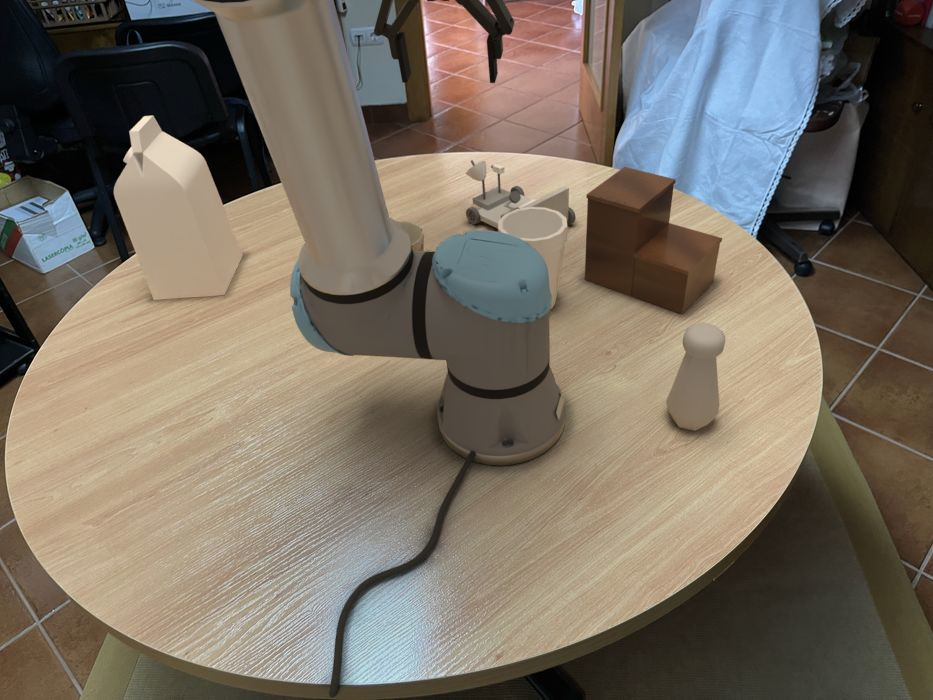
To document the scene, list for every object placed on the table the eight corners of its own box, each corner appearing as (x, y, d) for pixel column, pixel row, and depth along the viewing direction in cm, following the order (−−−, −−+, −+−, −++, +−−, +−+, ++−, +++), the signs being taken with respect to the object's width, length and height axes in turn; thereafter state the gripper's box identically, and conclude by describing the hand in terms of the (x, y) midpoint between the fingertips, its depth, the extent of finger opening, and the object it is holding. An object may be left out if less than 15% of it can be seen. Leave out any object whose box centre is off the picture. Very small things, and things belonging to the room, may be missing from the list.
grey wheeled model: (451, 165, 118) (501, 143, 123) (456, 216, 124) (503, 194, 129) (526, 197, 106) (577, 172, 112) (527, 251, 113) (575, 225, 118)
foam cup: (519, 278, 107) (516, 202, 99) (575, 291, 103) (577, 213, 95) (491, 312, 100) (486, 233, 92) (550, 326, 97) (550, 246, 88)
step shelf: (682, 315, 96) (695, 224, 87) (583, 280, 105) (586, 194, 96) (714, 281, 102) (730, 192, 93) (618, 250, 111) (624, 166, 102)
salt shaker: (685, 394, 84) (699, 308, 76) (726, 418, 81) (746, 330, 72) (654, 417, 82) (666, 331, 73) (695, 443, 78) (712, 355, 70)
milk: (224, 295, 109) (167, 136, 93) (153, 299, 110) (84, 143, 94) (243, 255, 119) (193, 105, 102) (177, 260, 119) (118, 111, 103)
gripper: (530, -92, 88) (534, 65, 105) (346, -84, 93) (378, 65, 110) (523, -68, 84) (528, 92, 100) (330, -61, 89) (365, 90, 105)
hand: (449, 78), depth 105 cm, fingers open, 13 cm apart
